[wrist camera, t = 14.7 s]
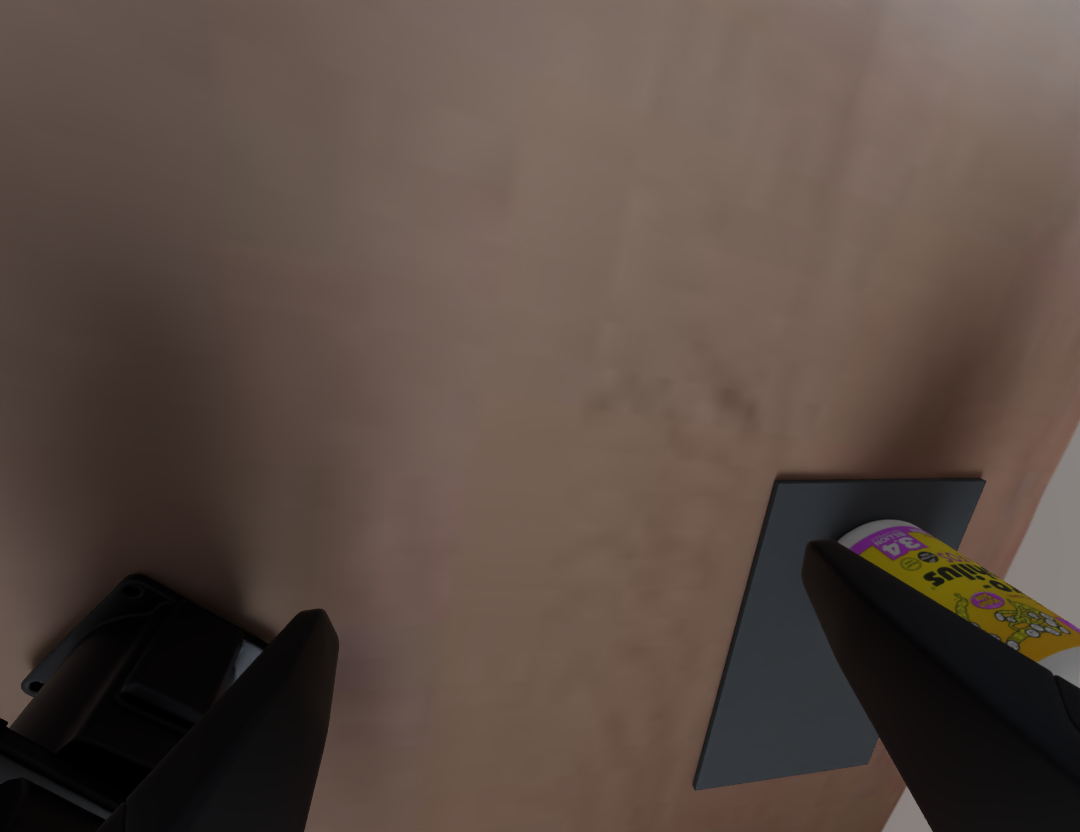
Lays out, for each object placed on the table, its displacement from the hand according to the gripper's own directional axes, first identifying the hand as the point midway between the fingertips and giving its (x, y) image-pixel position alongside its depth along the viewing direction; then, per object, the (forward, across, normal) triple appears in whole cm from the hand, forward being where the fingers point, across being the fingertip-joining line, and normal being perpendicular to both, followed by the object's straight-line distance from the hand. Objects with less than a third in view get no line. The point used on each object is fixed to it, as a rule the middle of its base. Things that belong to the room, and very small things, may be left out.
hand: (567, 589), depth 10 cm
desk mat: (+11, -14, +19) cm, 26 cm away
